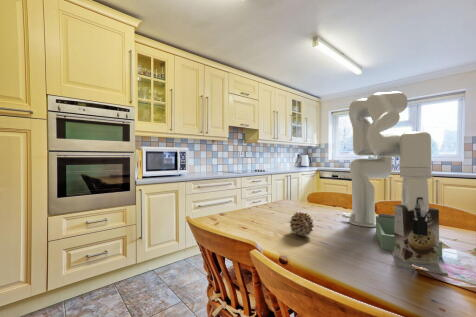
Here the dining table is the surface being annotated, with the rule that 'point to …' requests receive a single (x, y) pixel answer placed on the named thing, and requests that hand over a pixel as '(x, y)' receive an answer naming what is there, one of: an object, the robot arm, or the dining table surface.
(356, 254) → the dining table surface
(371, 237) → the dining table surface
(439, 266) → the mat
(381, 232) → the tray
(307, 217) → the pine cone
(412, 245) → the cookie box
